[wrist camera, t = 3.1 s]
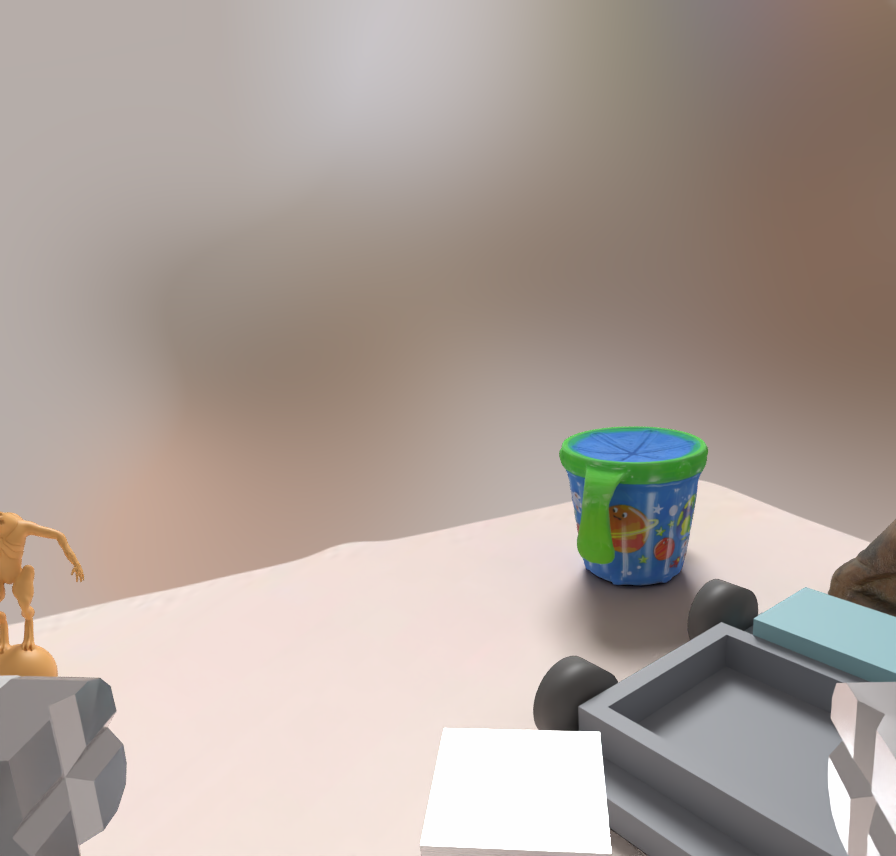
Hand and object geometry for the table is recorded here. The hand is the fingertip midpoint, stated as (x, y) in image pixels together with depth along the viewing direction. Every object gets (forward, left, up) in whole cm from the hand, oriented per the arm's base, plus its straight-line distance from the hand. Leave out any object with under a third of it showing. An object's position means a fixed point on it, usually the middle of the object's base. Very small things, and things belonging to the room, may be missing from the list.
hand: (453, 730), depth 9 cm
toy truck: (+28, +11, -21) cm, 37 cm away
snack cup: (+40, +31, -22) cm, 55 cm away
